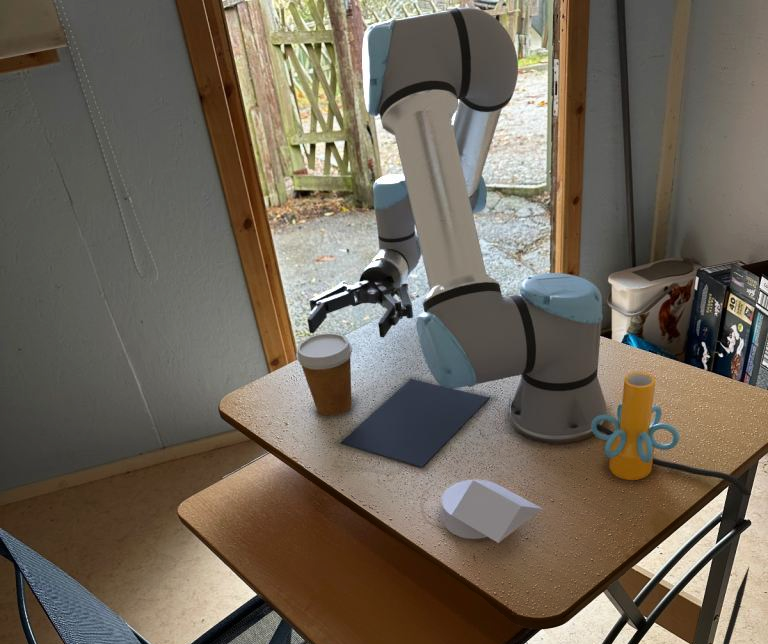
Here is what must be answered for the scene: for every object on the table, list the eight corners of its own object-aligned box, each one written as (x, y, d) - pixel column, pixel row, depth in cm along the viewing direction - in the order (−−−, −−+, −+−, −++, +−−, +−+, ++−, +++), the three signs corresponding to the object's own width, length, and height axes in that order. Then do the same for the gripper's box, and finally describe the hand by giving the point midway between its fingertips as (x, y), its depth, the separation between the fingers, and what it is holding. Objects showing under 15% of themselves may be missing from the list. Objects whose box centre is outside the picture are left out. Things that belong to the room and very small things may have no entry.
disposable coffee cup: (354, 421, 133) (343, 358, 125) (301, 420, 135) (287, 359, 127) (365, 391, 140) (356, 331, 132) (315, 391, 142) (303, 331, 134)
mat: (489, 398, 133) (489, 397, 133) (422, 468, 120) (422, 467, 120) (411, 379, 141) (411, 378, 141) (340, 443, 128) (339, 442, 128)
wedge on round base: (542, 527, 106) (473, 489, 114) (543, 489, 102) (471, 452, 110) (498, 561, 102) (430, 519, 110) (497, 523, 98) (426, 482, 106)
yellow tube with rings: (582, 451, 119) (587, 364, 109) (648, 440, 119) (659, 352, 109) (609, 499, 109) (617, 409, 100) (681, 487, 109) (696, 396, 100)
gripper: (445, 297, 151) (413, 351, 136) (328, 293, 159) (286, 343, 144) (443, 260, 146) (409, 311, 131) (322, 257, 154) (278, 305, 139)
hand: (345, 328), depth 138 cm, fingers open, 13 cm apart
